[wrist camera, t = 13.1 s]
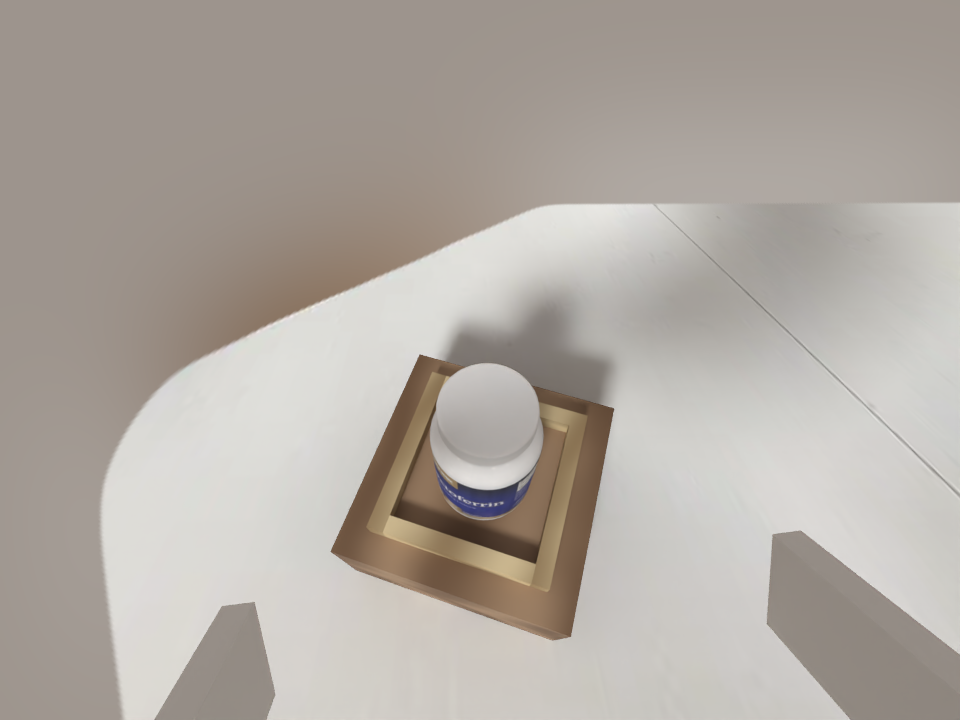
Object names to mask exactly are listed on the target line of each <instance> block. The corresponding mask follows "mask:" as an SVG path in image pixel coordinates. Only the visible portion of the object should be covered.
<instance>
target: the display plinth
mask: <svg viewBox="0 0 960 720" xmlns="http://www.w3.org/2000/svg"><path fill="white" fill-rule="evenodd" d="M463 368H465V367H463V366H459V365H456V364H452V363H449V362H445V361H441V360H438V359H434V358H431V357H427V356H423V355H419V357H418V359H417V362H416V364H415V366H414V368H413V370H412V373H411V375H410V377H409V379H408V382H407V384H406V386H405V388H404V390H403V393H402V395H401V397H400V399H399V401H398V404H397V406H396V408H395V410H394V413H393V415H392V417H391V419H390V421H389V424H388V426H387V428H386V430H385V432H384V435H383V437H382V439H381V441H380V444H379V446H378V448H377V450H376V452H375V455H374V457H373V459H372V461H371V463H370V466H369V468H368V470H367V472H366V474H365V477H364V479H363V481H362V483H361V486H360V488H359V490H358V492H357V494H356V497H355V499H354V501H353V503H352V505H351V508H350V510H349V512H348V514H347V517H346V519H345V521H344V523H343V525H342V528H341V530H340V532H339V534H338V536H337V539H336V541H335V543H334V545H333V547H332V550H331V552H332V553H333V554H335V555H336V556H337V557H339V558H340V559H342V560H343V561H344V562H346V563H347V564H348V565H350V566H351V567H353V568H354V569H355V570H357V571H360V572H363V573H366V574H368V575H371V576H374V577H377V578H380V579H382V580H385V581H388V582H391V583H394V584H396V585H399V586H402V587H405V588H408V589H410V590H413V591H416V592H419V593H422V594H424V595H427V596H430V597H433V598H436V599H438V600H441V601H444V602H447V603H449V604H452V605H455V606H458V607H461V608H463V609H466V610H469V611H472V612H475V613H477V614H480V615H483V616H486V617H489V618H491V619H494V620H497V621H500V622H503V623H505V624H508V625H511V626H514V627H517V628H519V629H522V630H525V631H528V632H530V633H533V634H536V635H539V636H542V637H544V638H547V639H550V640H558V639H563V638H567V637H571V633H572V627H573V622H574V617H575V612H576V606H577V601H578V596H579V591H580V585H581V580H582V575H583V569H584V564H585V559H586V554H587V548H588V543H589V538H590V533H591V527H592V522H593V517H594V512H595V506H596V501H597V496H598V491H599V485H600V480H601V475H602V469H603V464H604V459H605V454H606V448H607V443H608V438H609V433H610V427H611V422H612V417H613V412H614V408H611V407H607V406H603V405H600V404H596V403H593V402H589V401H585V400H582V399H578V398H575V397H571V396H567V395H564V394H560V393H557V392H553V391H549V390H546V389H542V388H539V387H535V386H532V387H533V389H534V390H535V393H536V395H537V398H538V402H539V409H540V419H541V422H542V426H543V446H542V451H541V454H540V457H539V460H538V463H537V466H536V469H535V472H534V474H533V477H532V480H531V483H530V485H529V488H528V491H527V493H526V495H525V497H524V498H523V500H522V501H521V503H520V504H519V505H518V506H517V507H516V508H515V509H514V510H513V511H511V512H510V513H508V514H506V515H504V516H502V517H500V518H497V519H493V520H477V519H472V518H469V517H466V516H464V515H462V514H460V513H459V512H457V511H456V510H455V509H453V508H452V507H451V506H450V504H449V503H448V502H447V501H446V499H445V498H444V496H443V494H442V492H441V490H440V487H439V483H438V479H437V474H436V469H435V465H434V459H433V455H432V450H431V444H430V427H431V422H432V419H433V416H434V414H435V411H436V403H437V399H438V396H439V393H440V391H441V389H442V387H443V385H444V384H445V383H446V381H447V380H448V379H449V378H450V377H451V376H452V375H453V374H455V373H456V372H457V371H459V370H461V369H463Z"/></svg>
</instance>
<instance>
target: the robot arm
mask: <svg viewBox="0 0 960 720" xmlns="http://www.w3.org/2000/svg"><path fill="white" fill-rule="evenodd" d="M767 625H768V626H769V627H770V628H771V629H772V630H773V631H774V633H775V634H776V635H777V636H778V637H779V638H780V639H781V641H782V642H783V643H784V644H785V645H786V646H787V647H788V649H789V650H790V651H791V652H792V653H793V654H794V655H795V657H796V658H797V659H798V660H799V661H800V662H801V663H802V665H803V666H804V667H805V668H806V669H807V670H808V671H809V673H810V674H811V675H812V676H813V677H814V678H815V679H816V681H817V682H818V683H819V684H820V685H821V686H822V687H823V689H824V690H825V691H826V692H827V693H828V694H829V695H830V697H831V698H832V699H833V700H834V701H835V702H836V703H837V705H838V706H839V707H840V708H841V709H842V710H843V711H844V713H845V714H846V715H847V716H848V717H849V718H850V719H851V720H960V655H959V654H958V653H957V652H956V651H954V650H953V649H952V648H950V647H949V646H948V645H947V644H945V643H944V642H943V641H941V640H940V639H939V638H938V637H936V636H935V635H934V634H933V633H931V632H930V631H929V630H927V629H926V628H925V627H924V626H922V625H921V624H920V623H918V622H917V621H916V620H915V619H913V618H912V617H911V616H909V615H908V614H907V613H906V612H904V611H903V610H902V609H900V608H899V607H898V606H897V605H895V604H894V603H893V602H892V601H890V600H889V599H888V598H886V597H885V596H884V595H883V594H881V593H880V592H879V591H877V590H876V589H875V588H874V587H872V586H871V585H870V584H868V583H867V582H866V581H865V580H863V579H862V578H861V577H859V576H858V575H857V574H856V573H854V572H853V571H852V570H851V569H849V568H848V567H847V566H845V565H844V564H843V563H842V562H840V561H839V560H838V559H836V558H835V557H834V556H833V555H831V554H830V553H829V552H827V551H826V550H825V549H824V548H822V547H821V546H820V545H819V544H817V543H816V542H815V541H813V540H812V539H811V538H810V537H808V536H807V535H806V534H804V533H803V532H802V531H795V532H787V533H779V534H773V539H772V554H771V568H770V583H769V598H768V613H767ZM274 697H275V690H274V686H273V681H272V677H271V673H270V668H269V664H268V659H267V655H266V650H265V646H264V642H263V637H262V633H261V628H260V624H259V620H258V615H257V611H256V606H255V602H252V603H244V604H236V605H229V606H222V607H221V609H220V610H219V612H218V614H217V616H216V617H215V619H214V621H213V622H212V624H211V626H210V627H209V629H208V631H207V632H206V634H205V636H204V637H203V639H202V641H201V642H200V644H199V646H198V647H197V649H196V651H195V652H194V654H193V656H192V657H191V659H190V661H189V663H188V664H187V666H186V668H185V669H184V671H183V673H182V674H181V676H180V678H179V679H178V681H177V683H176V684H175V686H174V688H173V689H172V691H171V693H170V694H169V696H168V698H167V699H166V701H165V703H164V704H163V706H162V708H161V710H160V711H159V713H158V715H157V716H156V718H155V720H266V719H267V716H268V713H269V711H270V708H271V705H272V702H273V699H274Z"/></svg>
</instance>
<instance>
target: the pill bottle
mask: <svg viewBox="0 0 960 720" xmlns="http://www.w3.org/2000/svg"><path fill="white" fill-rule="evenodd" d="M430 444H431V450H432V455H433V459H434V465H435V469H436V474H437V479H438V483H439V487H440V490H441V492H442V494H443V496H444V498H445V499H446V501H447V502H448V503H449V504H450V506H451V507H452V508H453V509H455V510H456V511H457V512H459V513H460V514H462V515H464V516H466V517H469V518H472V519H477V520H493V519H497V518H500V517H502V516H504V515H506V514H508V513H510V512H511V511H513V510H514V509H515V508H516V507H517V506H518V505H519V504H520V503H521V501H522V500H523V498H524V497H525V495H526V493H527V491H528V488H529V485H530V483H531V480H532V477H533V474H534V472H535V469H536V466H537V463H538V460H539V457H540V454H541V451H542V446H543V426H542V422H541V419H540V409H539V402H538V398H537V395H536V393H535V390H534V389H533V387H532V386H531V384H530V383H529V382H528V381H527V379H526V378H525V377H523V376H522V375H521V374H520V373H518V372H517V371H515V370H513V369H511V368H509V367H507V366H504V365H500V364H495V363H480V364H474V365H470V366H467V367H465V368H463V369H461V370H459V371H457V372H456V373H455V374H453V375H452V376H451V377H450V378H449V379H448V380H447V381H446V383H445V384H444V385H443V387H442V389H441V391H440V393H439V396H438V399H437V403H436V411H435V414H434V416H433V419H432V422H431V427H430Z"/></svg>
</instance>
